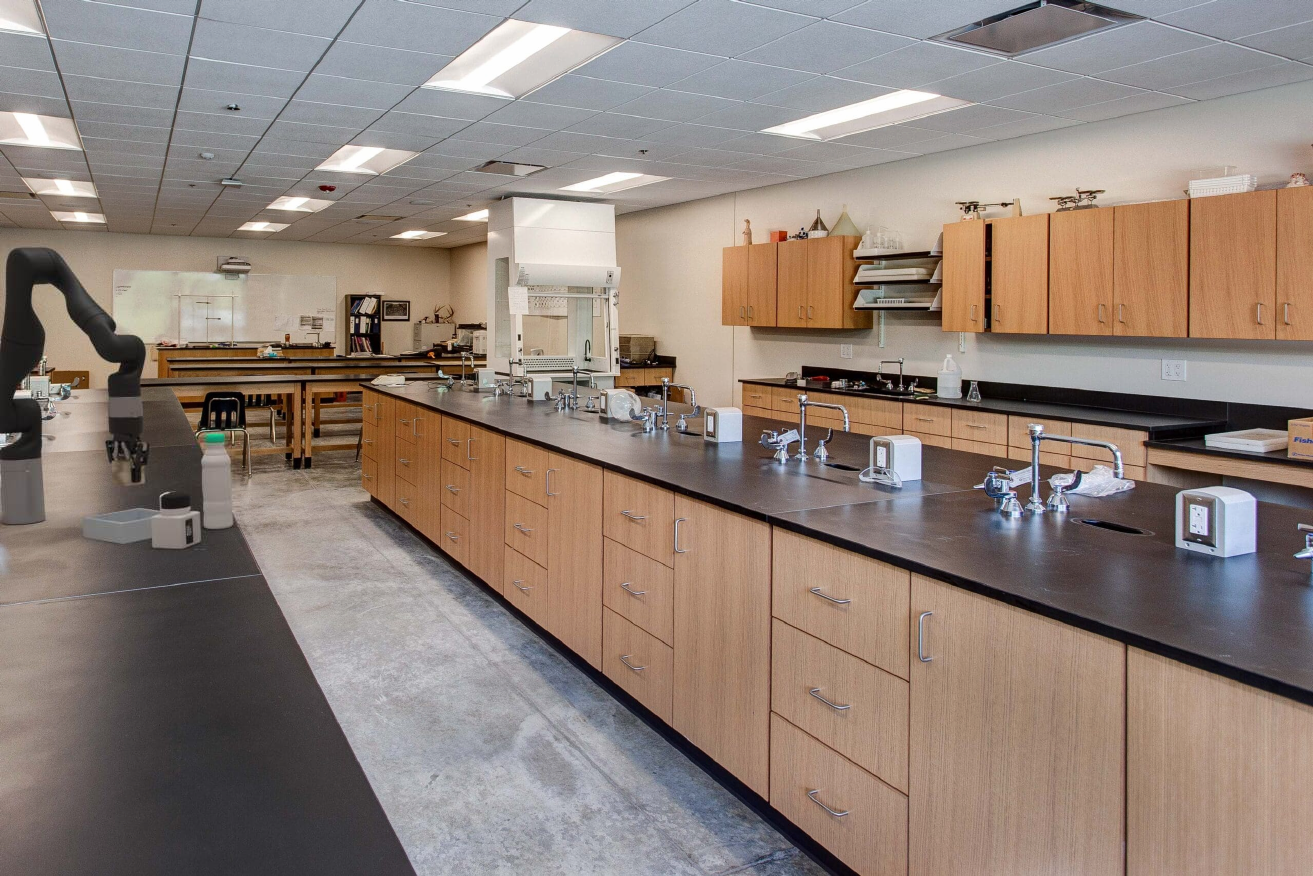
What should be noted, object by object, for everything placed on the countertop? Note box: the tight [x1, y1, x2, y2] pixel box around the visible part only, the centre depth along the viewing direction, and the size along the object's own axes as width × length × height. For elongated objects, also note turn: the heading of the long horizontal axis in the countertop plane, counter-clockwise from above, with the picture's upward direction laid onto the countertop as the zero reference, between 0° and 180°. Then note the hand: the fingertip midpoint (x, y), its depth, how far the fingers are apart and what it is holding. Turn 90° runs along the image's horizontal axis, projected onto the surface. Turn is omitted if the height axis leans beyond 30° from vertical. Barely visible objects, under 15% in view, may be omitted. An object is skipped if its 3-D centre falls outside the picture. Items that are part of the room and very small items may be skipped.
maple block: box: [111, 459, 146, 487], centre depth 225 cm, size 5×5×6 cm
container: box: [151, 490, 202, 550], centre depth 216 cm, size 8×8×13 cm
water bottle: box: [200, 432, 234, 530], centre depth 236 cm, size 7×7×25 cm
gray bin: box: [82, 507, 162, 545], centre depth 227 cm, size 15×15×5 cm
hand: (129, 481), depth 225 cm, fingers closed on maple block, 5 cm apart
